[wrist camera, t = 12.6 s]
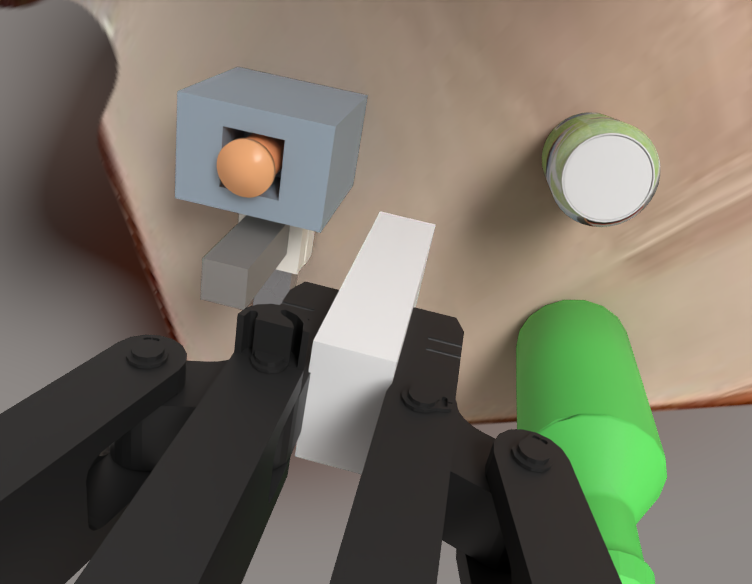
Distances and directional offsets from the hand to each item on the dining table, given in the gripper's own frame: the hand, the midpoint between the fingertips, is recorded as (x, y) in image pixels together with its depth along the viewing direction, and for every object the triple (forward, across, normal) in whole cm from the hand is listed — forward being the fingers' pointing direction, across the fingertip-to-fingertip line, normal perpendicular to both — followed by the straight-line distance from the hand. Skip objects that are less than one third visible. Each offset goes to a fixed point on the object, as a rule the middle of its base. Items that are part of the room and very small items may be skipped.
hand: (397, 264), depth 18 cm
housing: (+32, -12, -7) cm, 35 cm away
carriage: (+32, -12, -14) cm, 37 cm away
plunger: (+26, -12, -7) cm, 29 cm away
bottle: (+33, +13, -19) cm, 40 cm away
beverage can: (+33, +9, -3) cm, 34 cm away
